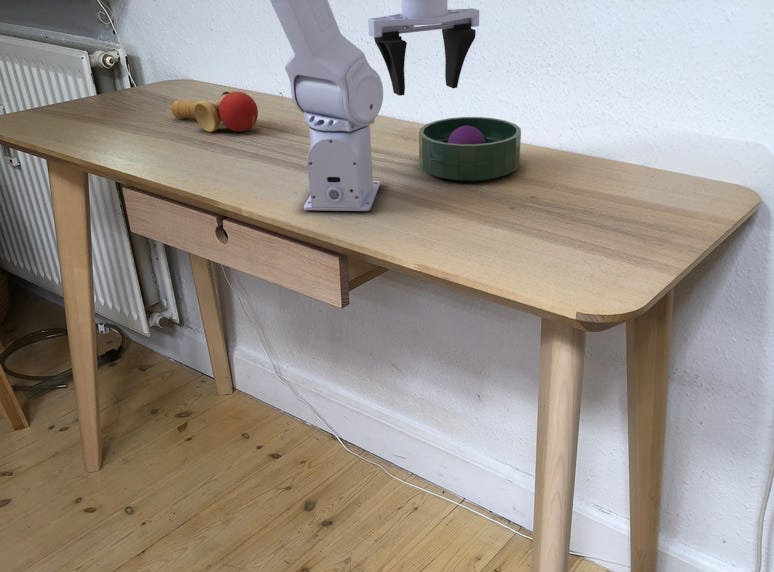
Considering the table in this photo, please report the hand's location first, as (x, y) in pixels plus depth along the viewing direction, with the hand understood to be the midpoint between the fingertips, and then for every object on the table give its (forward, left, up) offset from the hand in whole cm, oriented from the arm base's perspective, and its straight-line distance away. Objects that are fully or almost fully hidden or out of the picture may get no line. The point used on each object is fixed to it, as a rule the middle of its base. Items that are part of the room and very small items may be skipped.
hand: (425, 90), depth 100 cm
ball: (-3, -6, -6) cm, 9 cm away
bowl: (-3, -6, -9) cm, 12 cm away
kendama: (+17, +36, -10) cm, 41 cm away
